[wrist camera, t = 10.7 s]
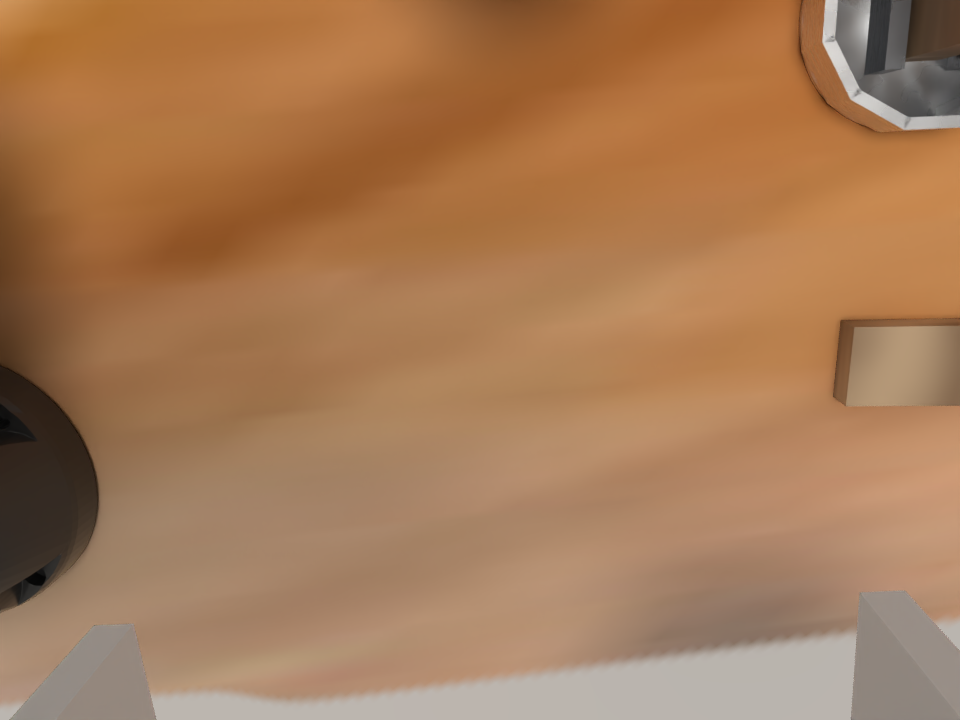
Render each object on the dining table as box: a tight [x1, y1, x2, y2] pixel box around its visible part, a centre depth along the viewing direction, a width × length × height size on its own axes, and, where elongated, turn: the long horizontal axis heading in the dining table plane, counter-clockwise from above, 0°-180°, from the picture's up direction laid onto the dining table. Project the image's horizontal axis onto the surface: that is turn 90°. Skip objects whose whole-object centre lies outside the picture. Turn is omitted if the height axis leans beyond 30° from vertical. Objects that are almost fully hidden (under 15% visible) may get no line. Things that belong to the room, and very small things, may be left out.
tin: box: [799, 0, 960, 132], centre depth 31 cm, size 10×10×3 cm
